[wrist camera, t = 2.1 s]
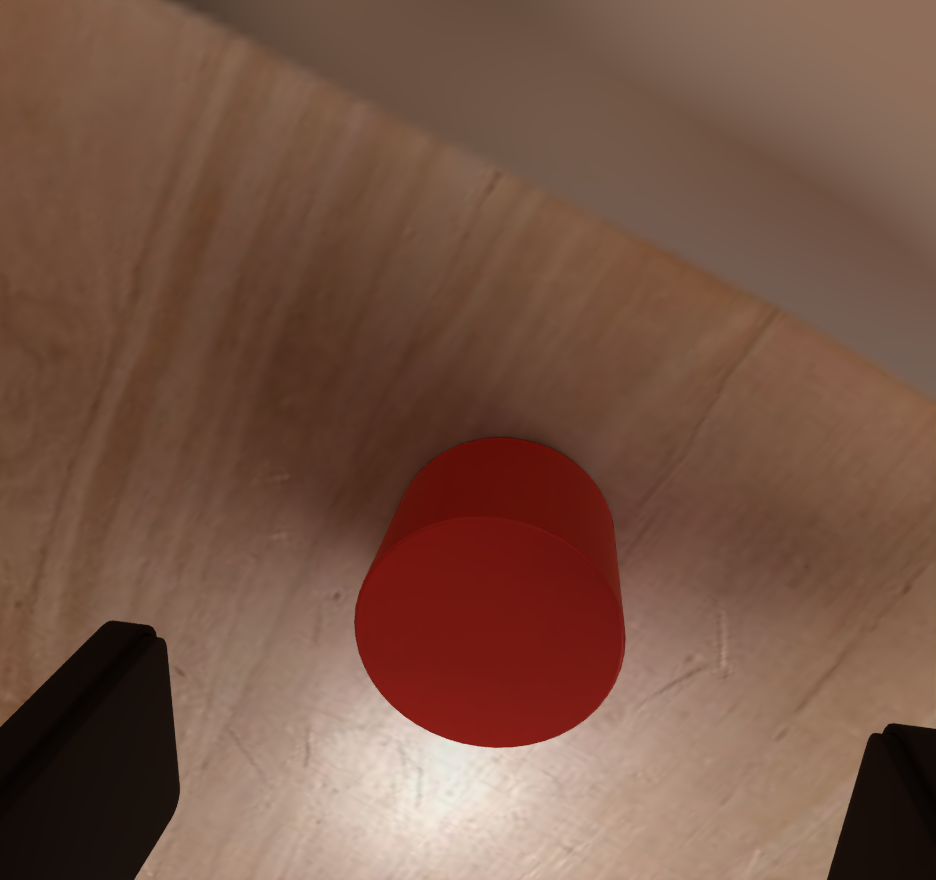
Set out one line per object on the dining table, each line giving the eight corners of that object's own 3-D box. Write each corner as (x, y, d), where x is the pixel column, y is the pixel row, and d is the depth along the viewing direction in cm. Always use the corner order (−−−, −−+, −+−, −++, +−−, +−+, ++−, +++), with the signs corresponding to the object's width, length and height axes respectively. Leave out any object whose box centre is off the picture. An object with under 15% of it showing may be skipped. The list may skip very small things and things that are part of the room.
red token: (399, 426, 15) (354, 502, 12) (627, 447, 15) (643, 532, 12) (394, 618, 17) (353, 731, 14) (600, 642, 17) (608, 764, 13)
